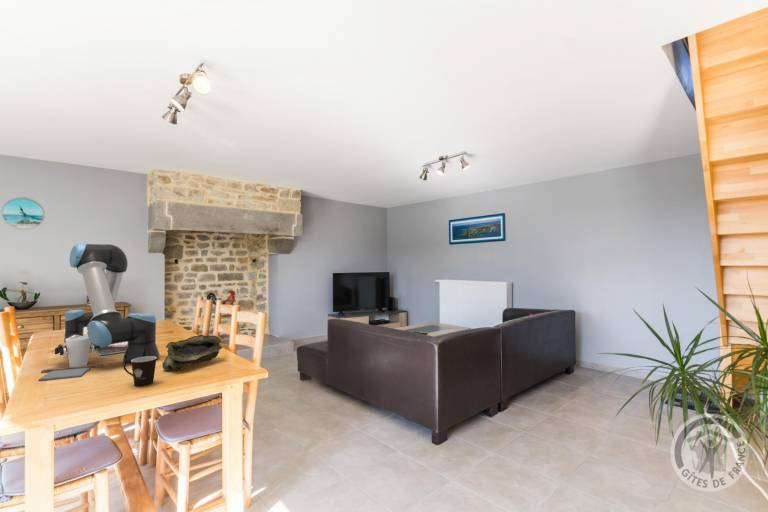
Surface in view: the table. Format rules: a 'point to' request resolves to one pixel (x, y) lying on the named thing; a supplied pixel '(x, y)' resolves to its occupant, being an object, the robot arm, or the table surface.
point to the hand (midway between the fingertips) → (79, 351)
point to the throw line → (72, 368)
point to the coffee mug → (142, 370)
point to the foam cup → (78, 350)
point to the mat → (65, 374)
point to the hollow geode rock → (191, 351)
